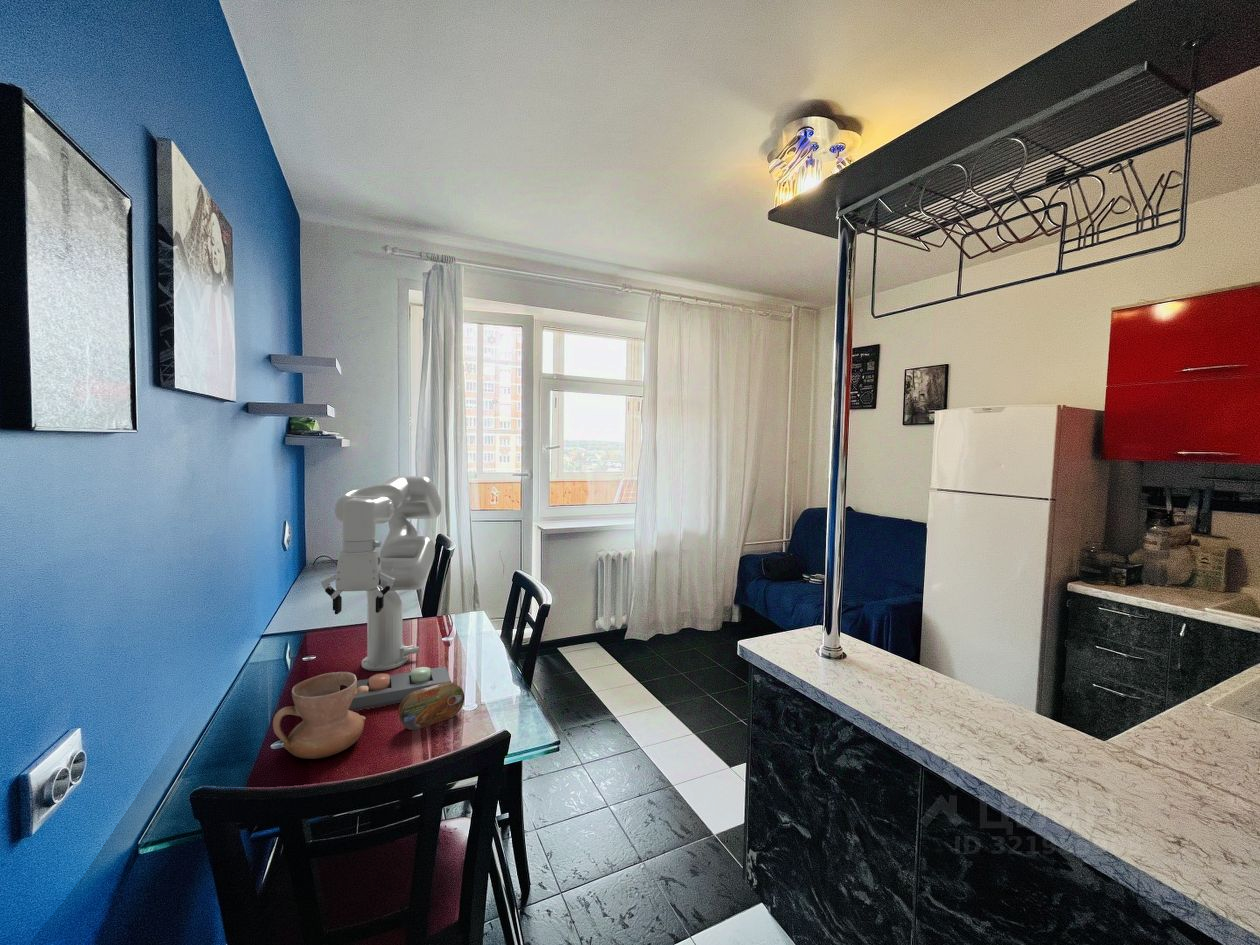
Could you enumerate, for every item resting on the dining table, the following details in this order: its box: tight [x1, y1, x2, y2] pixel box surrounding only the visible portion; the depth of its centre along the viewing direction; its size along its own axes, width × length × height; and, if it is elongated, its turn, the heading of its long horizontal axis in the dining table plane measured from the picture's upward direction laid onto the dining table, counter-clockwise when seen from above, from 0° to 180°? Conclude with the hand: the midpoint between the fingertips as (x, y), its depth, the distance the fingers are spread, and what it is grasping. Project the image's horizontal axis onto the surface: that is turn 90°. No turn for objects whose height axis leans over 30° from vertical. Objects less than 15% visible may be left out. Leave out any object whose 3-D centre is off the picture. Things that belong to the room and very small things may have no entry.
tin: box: [397, 681, 465, 731], centre depth 123 cm, size 15×3×8 cm, turn 130°
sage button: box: [410, 666, 431, 684], centre depth 138 cm, size 5×5×3 cm
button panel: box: [348, 665, 452, 712], centre depth 136 cm, size 24×10×4 cm, turn 117°
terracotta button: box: [368, 672, 390, 692], centre depth 134 cm, size 5×5×3 cm
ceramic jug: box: [272, 671, 369, 760], centre depth 112 cm, size 18×14×14 cm
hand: (358, 612), depth 134 cm, fingers open, 9 cm apart
